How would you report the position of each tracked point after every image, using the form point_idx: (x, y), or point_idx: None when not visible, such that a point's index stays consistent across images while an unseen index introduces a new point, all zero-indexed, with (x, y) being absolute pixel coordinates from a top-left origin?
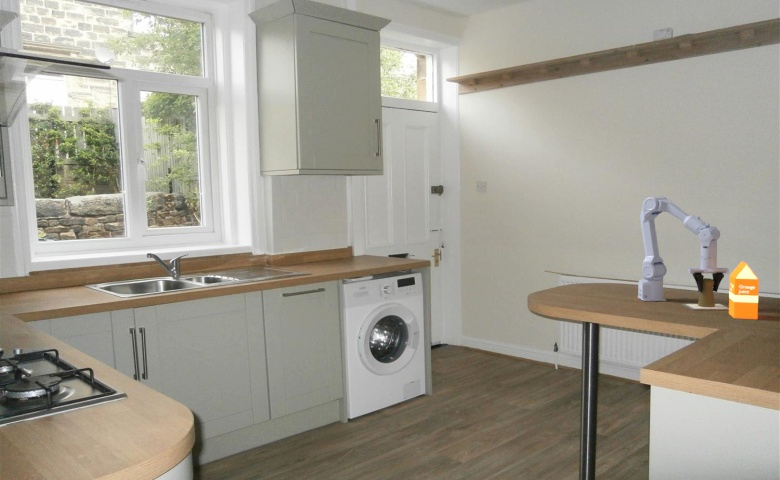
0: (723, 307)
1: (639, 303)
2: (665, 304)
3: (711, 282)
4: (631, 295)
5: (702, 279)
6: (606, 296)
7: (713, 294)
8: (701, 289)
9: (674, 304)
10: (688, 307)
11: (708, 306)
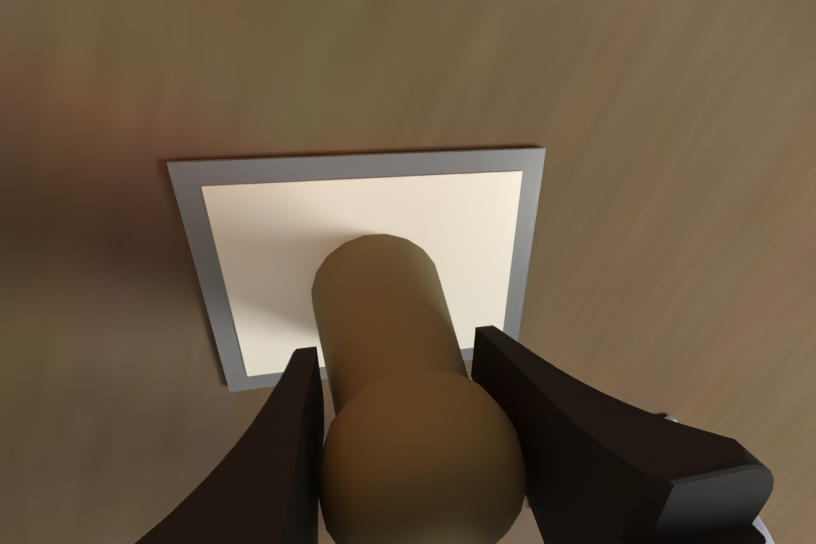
0: (250, 237)
1: (731, 353)
2: (608, 346)
3: (396, 423)
4: None
5: (590, 427)
6: None
7: (331, 340)
8: (499, 337)
9: (553, 354)
10: (529, 242)
11: (385, 238)
